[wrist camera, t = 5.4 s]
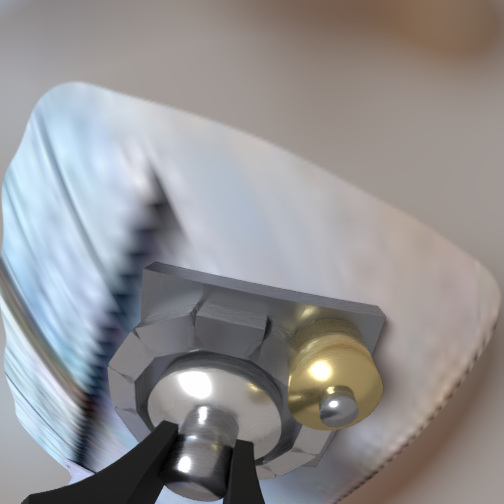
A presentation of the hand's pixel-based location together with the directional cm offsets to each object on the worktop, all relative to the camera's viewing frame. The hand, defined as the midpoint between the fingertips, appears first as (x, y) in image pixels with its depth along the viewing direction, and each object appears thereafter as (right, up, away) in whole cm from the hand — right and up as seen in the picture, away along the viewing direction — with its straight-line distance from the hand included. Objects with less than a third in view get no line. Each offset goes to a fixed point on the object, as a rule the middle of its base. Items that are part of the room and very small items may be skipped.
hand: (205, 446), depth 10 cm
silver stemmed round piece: (0, +1, +3) cm, 3 cm away
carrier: (+2, +2, +4) cm, 4 cm away
